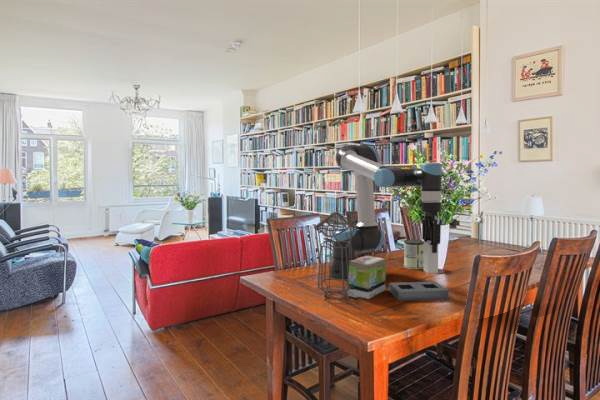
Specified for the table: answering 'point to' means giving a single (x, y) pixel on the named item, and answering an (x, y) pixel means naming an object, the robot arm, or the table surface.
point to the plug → (429, 265)
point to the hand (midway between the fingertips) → (430, 259)
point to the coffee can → (413, 254)
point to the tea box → (367, 276)
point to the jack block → (418, 291)
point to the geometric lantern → (318, 228)
